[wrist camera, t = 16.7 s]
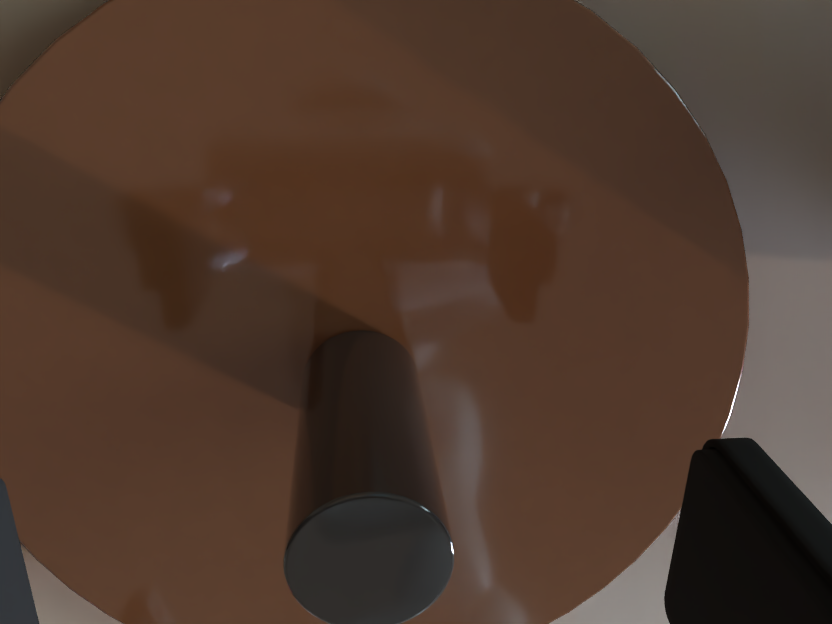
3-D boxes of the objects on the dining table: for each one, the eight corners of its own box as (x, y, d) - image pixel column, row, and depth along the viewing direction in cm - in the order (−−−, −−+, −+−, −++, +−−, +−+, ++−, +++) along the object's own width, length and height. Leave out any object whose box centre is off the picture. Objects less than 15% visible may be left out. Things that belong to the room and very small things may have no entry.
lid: (793, -50, 14) (1141, -91, 8) (666, 622, 20) (807, 889, 14) (-139, -74, 13) (-594, -146, 6) (35, 660, 19) (-113, 976, 13)
